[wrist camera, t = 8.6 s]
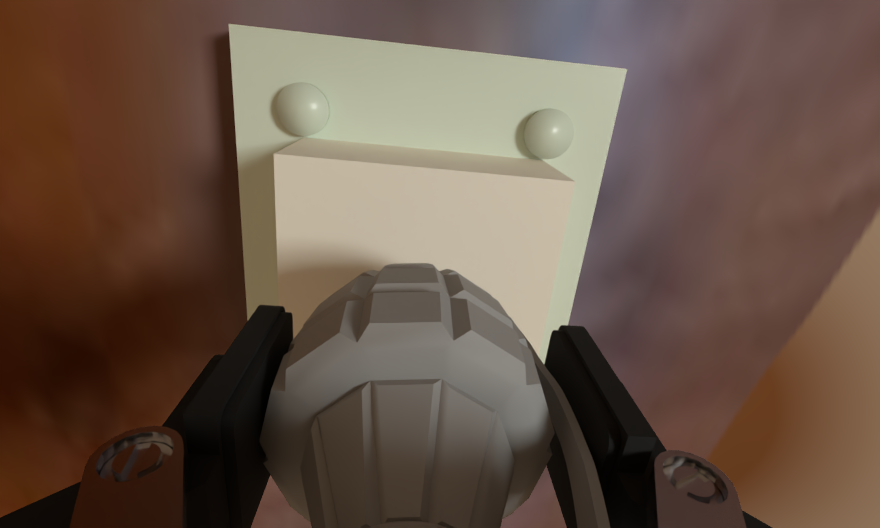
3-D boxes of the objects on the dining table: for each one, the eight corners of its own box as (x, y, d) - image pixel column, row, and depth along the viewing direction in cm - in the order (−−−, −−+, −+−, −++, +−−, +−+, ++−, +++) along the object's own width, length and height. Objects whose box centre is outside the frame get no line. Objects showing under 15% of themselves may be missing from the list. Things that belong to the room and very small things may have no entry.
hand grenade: (326, 389, 15) (148, 991, 5) (307, 223, 13) (-61, 711, 3) (517, 384, 16) (698, 949, 6) (530, 220, 14) (870, 662, 3)
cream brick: (305, 137, 17) (273, 153, 13) (542, 159, 18) (575, 181, 14) (306, 345, 20) (281, 405, 17) (506, 357, 21) (525, 417, 17)
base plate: (244, 28, 17) (224, 22, 15) (610, 69, 18) (631, 68, 16) (262, 387, 23) (250, 412, 21) (538, 401, 24) (547, 427, 22)
